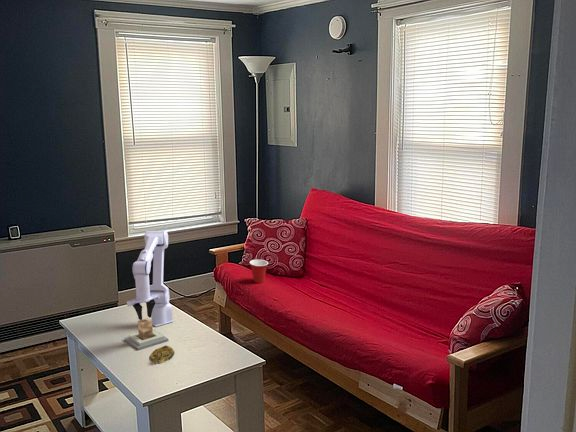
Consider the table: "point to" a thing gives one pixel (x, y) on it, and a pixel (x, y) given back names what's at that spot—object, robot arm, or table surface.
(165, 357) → the mottled brown rock
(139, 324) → the tan block
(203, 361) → the table surface
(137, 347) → the plate
